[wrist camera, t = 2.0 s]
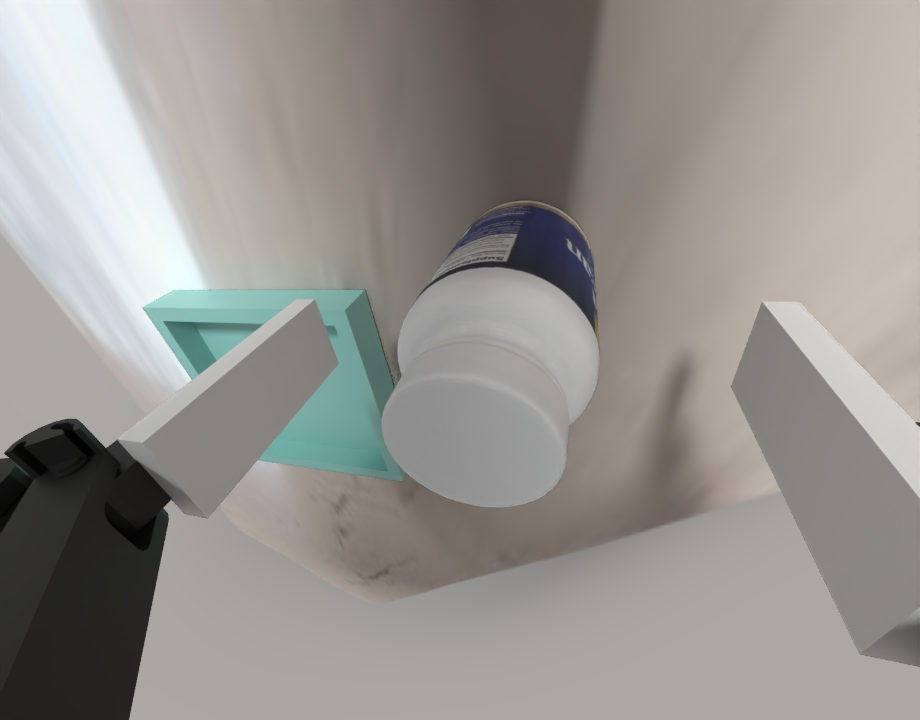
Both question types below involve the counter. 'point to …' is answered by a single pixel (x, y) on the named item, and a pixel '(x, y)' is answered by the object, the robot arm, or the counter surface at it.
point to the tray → (332, 405)
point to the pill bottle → (497, 360)
